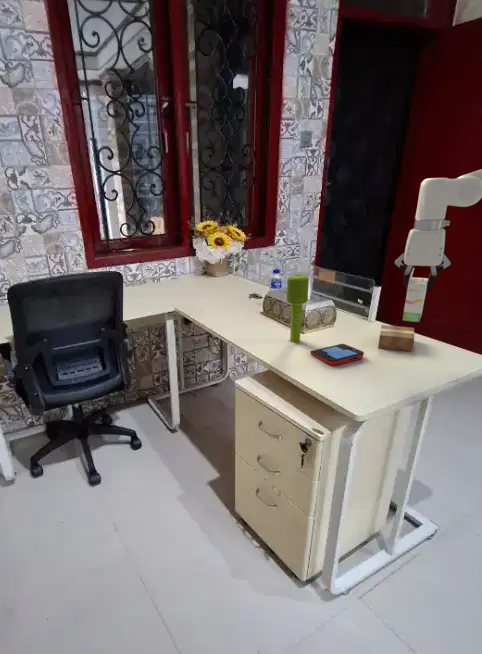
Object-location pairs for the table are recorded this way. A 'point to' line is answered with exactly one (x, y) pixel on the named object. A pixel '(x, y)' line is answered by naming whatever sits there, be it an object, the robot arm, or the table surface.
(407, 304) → the ink box
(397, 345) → the cardboard box
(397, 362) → the table surface
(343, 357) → the game console
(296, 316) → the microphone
